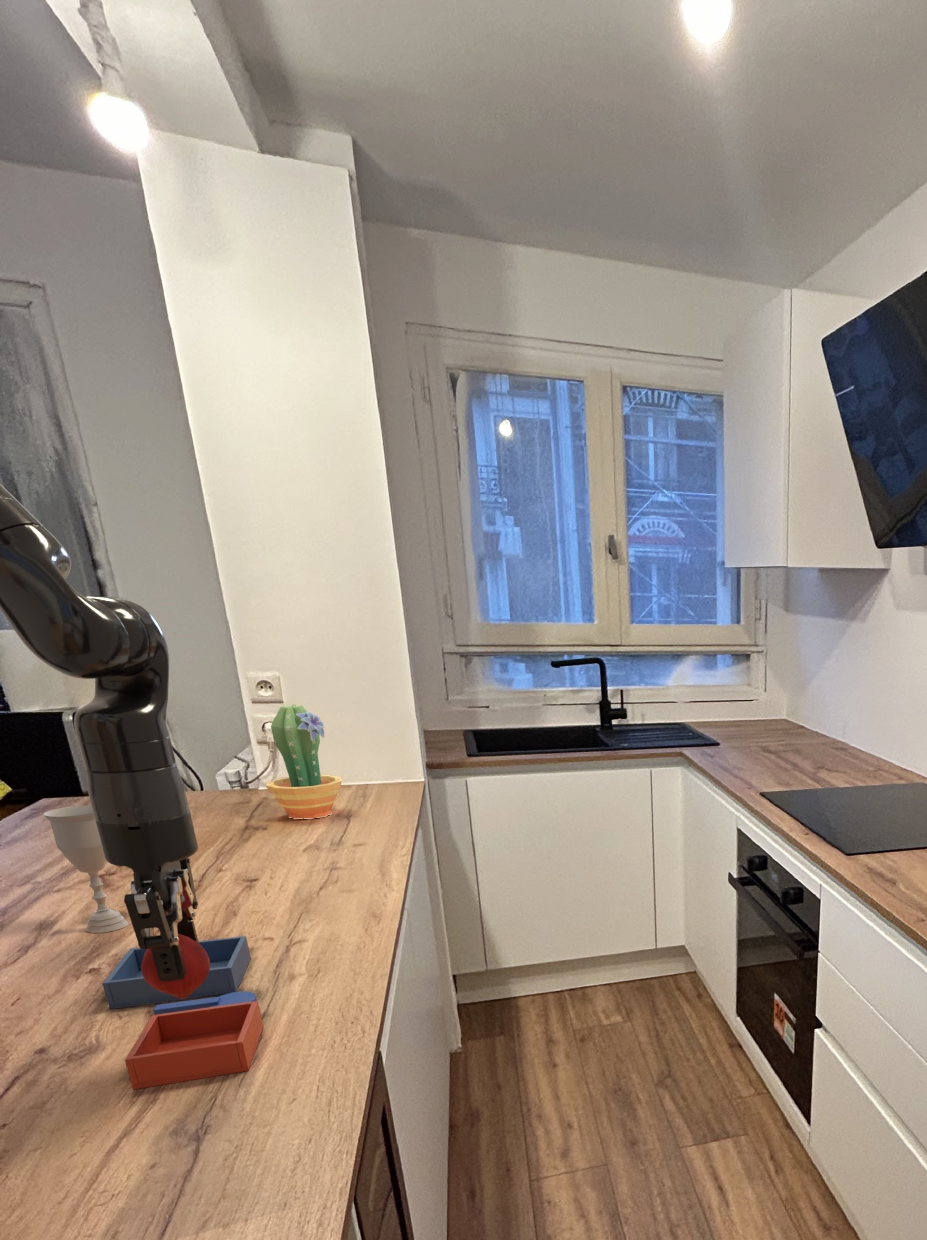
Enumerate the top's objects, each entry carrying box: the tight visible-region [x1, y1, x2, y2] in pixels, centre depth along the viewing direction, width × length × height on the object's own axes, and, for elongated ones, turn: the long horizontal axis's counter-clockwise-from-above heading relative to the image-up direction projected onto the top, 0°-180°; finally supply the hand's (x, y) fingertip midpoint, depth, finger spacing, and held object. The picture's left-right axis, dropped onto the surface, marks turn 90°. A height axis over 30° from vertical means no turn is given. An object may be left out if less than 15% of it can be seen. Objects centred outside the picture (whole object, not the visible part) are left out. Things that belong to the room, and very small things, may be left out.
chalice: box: [42, 804, 130, 934], centre depth 120 cm, size 7×7×18 cm
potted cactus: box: [265, 704, 342, 819], centre depth 183 cm, size 15×15×25 cm
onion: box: [141, 932, 210, 998], centre depth 85 cm, size 6×6×8 cm
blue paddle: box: [152, 990, 258, 1015], centre depth 98 cm, size 10×5×2 cm, turn 113°
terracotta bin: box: [124, 1000, 264, 1090], centre depth 89 cm, size 10×10×4 cm
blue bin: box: [102, 935, 252, 1010], centre depth 105 cm, size 13×11×4 cm
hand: (180, 966), depth 86 cm, fingers closed on onion, 6 cm apart
